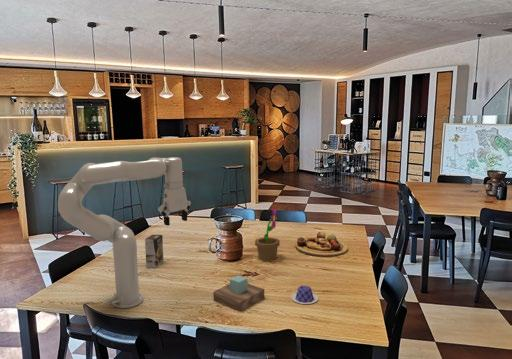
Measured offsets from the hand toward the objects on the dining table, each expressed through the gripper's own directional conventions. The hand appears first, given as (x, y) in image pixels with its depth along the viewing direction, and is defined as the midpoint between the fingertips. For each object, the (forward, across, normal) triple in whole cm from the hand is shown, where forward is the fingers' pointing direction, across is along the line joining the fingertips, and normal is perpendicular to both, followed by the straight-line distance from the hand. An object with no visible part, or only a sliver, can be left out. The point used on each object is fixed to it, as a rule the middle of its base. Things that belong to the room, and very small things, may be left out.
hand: (175, 222), depth 170 cm
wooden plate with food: (+34, +95, -19) cm, 102 cm away
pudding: (+34, +32, -48) cm, 67 cm away
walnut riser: (+33, +13, -26) cm, 44 cm away
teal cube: (+29, +13, -26) cm, 41 cm away
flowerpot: (+34, +60, -4) cm, 69 cm away
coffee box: (+34, +13, +38) cm, 52 cm away
